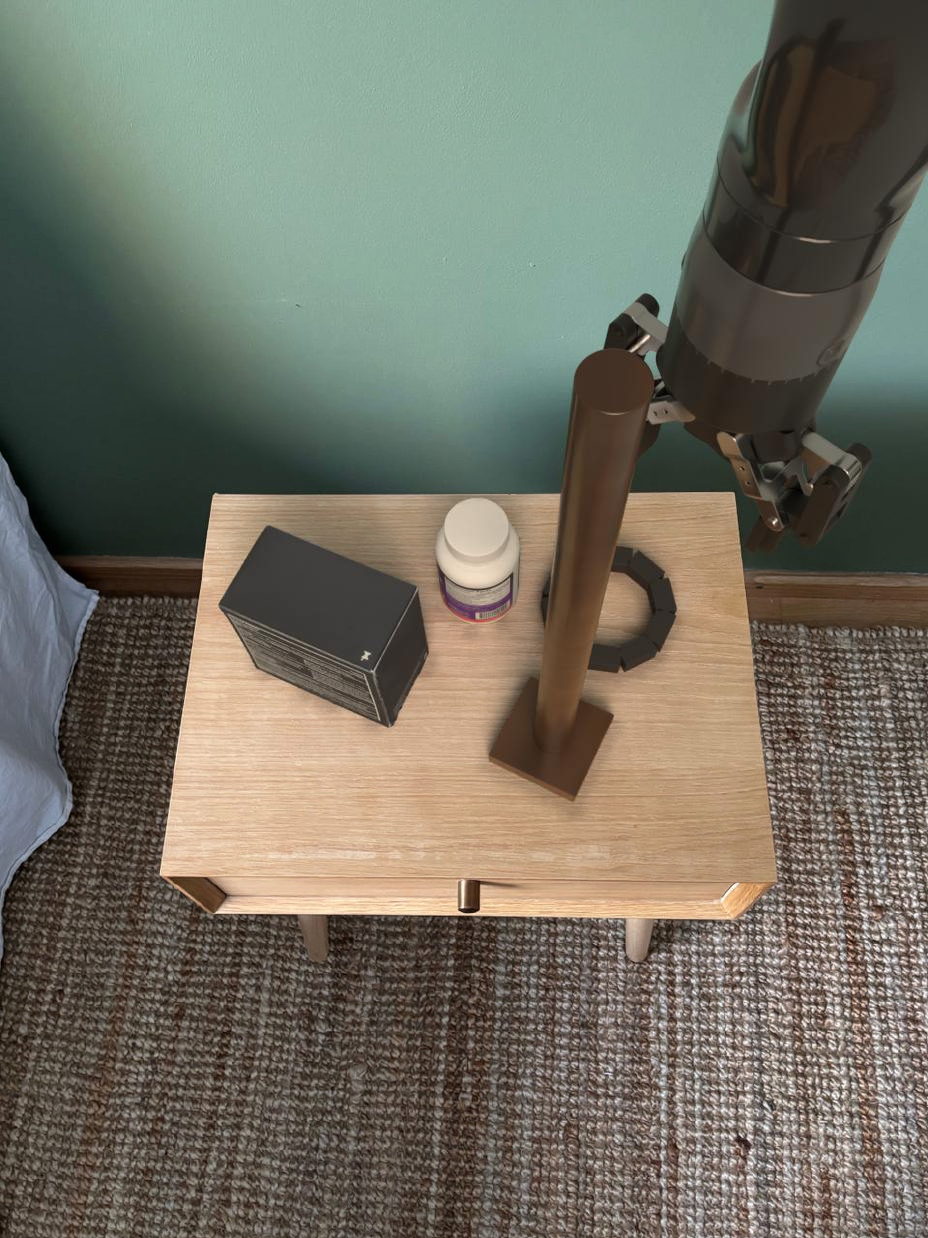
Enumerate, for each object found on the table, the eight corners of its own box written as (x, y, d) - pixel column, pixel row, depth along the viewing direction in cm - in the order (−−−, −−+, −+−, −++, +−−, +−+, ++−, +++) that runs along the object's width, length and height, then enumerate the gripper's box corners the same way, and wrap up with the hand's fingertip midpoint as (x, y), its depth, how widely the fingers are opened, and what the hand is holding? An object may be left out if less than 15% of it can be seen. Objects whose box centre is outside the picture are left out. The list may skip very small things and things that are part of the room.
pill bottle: (456, 546, 73) (451, 475, 64) (529, 569, 72) (533, 501, 63) (428, 612, 71) (418, 549, 62) (502, 637, 70) (503, 577, 61)
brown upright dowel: (612, 721, 68) (745, 341, 31) (573, 802, 66) (668, 498, 29) (529, 682, 69) (565, 273, 32) (489, 761, 67) (478, 419, 30)
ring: (692, 583, 71) (695, 574, 70) (639, 695, 68) (642, 688, 67) (575, 532, 73) (577, 523, 72) (519, 640, 70) (520, 632, 69)
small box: (434, 647, 70) (424, 582, 60) (392, 731, 68) (374, 679, 58) (298, 588, 72) (267, 517, 62) (252, 669, 70) (212, 608, 60)
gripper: (967, 341, 42) (843, 528, 57) (691, 161, 46) (643, 380, 61) (856, 459, 40) (758, 620, 55) (578, 260, 44) (558, 461, 59)
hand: (698, 493), depth 58 cm, fingers open, 8 cm apart
